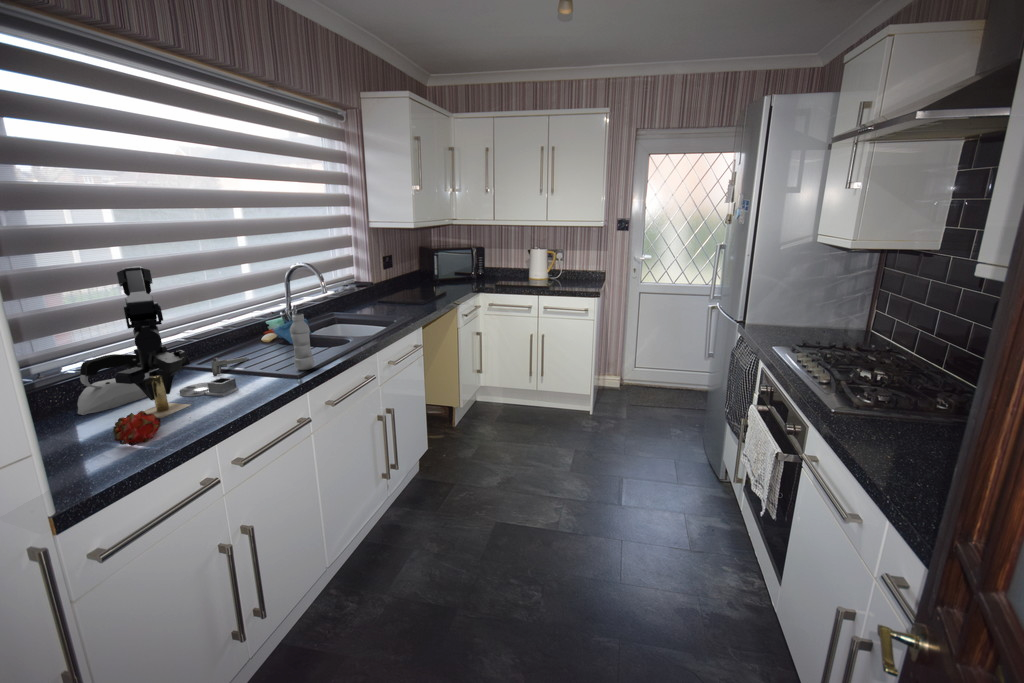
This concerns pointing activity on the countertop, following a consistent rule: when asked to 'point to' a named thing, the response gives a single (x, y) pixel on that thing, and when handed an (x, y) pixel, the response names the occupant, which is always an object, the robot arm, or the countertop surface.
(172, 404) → the tan square plate
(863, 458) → the countertop surface
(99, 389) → the iron
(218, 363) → the caliper
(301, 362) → the plastic bottle
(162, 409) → the brass cylinder
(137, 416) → the dragon fruit
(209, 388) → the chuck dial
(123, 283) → the robot arm
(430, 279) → the countertop surface
